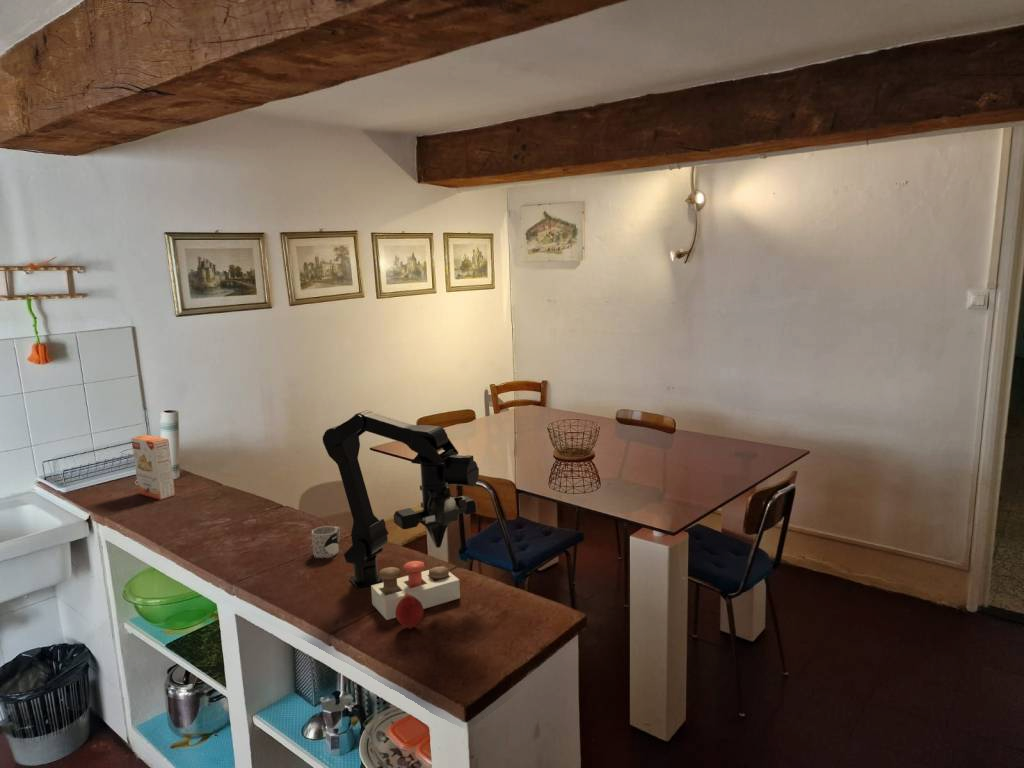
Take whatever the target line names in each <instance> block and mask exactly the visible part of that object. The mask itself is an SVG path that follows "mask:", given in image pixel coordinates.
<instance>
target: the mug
mask: <svg viewBox="0 0 1024 768" xmlns="http://www.w3.org/2000/svg"><path fill="white" fill-rule="evenodd" d="M340 541H341V533H340V527H339V526H332V525H331V526H330V525H329V526H328V525H324V526H320V527H319V526H318V527H316V528H315V529H312V530H311V543H312V553H313V554H312V555H314V556H313V557H314V558H315V557H316V558H315V559H318V558H322V559H321V560H324V559H323V558H326V559H330V557H331V558H333V557H332V556H334V557H336V556H337V555H338V554H339V553H338V552H339V542H340ZM336 554H337V555H336ZM335 555H336V556H335Z"/></svg>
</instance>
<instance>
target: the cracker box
mask: <svg viewBox="0 0 1024 768" xmlns="http://www.w3.org/2000/svg"><path fill="white" fill-rule="evenodd" d="M130 439H131V445H132V453H133V460H134V468H135V474H136V475H135V476H136V481H137V482H136V483H137V488H138V489H137V491H138V494H139V495H142V496H146V497H148V498H153V499H156V500H160V501H162V500H165V499H168V498H171V497H174V496H176V491H175V482H174V475H173V466H172V458H171V451H170V443H169V438H166V437H165V438H164V437H160V436H155V435H150V434H144V435H143V434H142V435H138V436H134V437H131V438H130Z"/></svg>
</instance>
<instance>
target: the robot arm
mask: <svg viewBox="0 0 1024 768" xmlns="http://www.w3.org/2000/svg"><path fill="white" fill-rule="evenodd" d="M366 432H368V433H371V434H375V435H377V436H381V437H384V438H387V439H390V440H393V441H397V442H399V443H402V444H403V445H406V446H407V447H408V448H409V449H410V450H411V451H412V452H414V453H417V454H416V456H415V457H414V458H412V459H411V464H417V465H420V480H421V485H419V490H420V491H421V494H422V495H421V496H422V497H421V498H422V502H420V507H421V508H422V510H417V511H415V510H413V509H412V508H411V507H408V508H403V509H399V510H396V511H395V512H394V514H393V523H394V524H395V525H396V526H397V527H399V528H400V529H402V530H408V529H409V530H410V529H413V528H417V527H418V526H419V524H421V525H423V526H424V527H425V529H426V530H427V532H428V534H429V536H430V538H431V540H432V542H433V544H434V547H435V548H437V549H439V548H441V546H442V543H443V539H444V538H445V533H446V531H447V528H448V526H449V524H451V523H452V522H457V521H459V518H460V517H459V516H460V515H461V514H464V515H466V516H467V515H472V514H475V513H477V512H478V506H477V505H478V504H477V503H476V501H475V500H474V499H472V498H470V497H469V496H467V495H461V496H456V497H455V496H453V497H452V495H451V490H450V487H449V486H448V485H451V486H459V487H460V486H463V487H470V488H471V487H474V486H476V484H477V482H478V480H479V477H480V474H479V473H480V469H479V467H478V463H477V462H476V461H475V460H474V455H469V454H468V455H459V451H458V449H456V447H455V446H454V444H453V442H452V441H451V440H450V438H449V437H448V434H447V432H446V429H445V428H444V427H441V426H438V425H429V424H420V425H419V424H418V425H417V424H411V423H407V422H405V421H401V420H398V419H394V418H391V417H387V416H386V415H385V416H384V415H382V414H378V413H375V412H373V411H371V410H368V409H367V410H364V411H361V412H358V413H355V414H354V415H353V416H351V418H349V419H347V420H346V421H344V422H343V423H341V424H338V425H336V426H333V427H330V428H328V429H326V430H325V431H324V434H323V435H322V443H323V446H324V448H325V450H326V452H327V454H328V457H329V458H331V459H332V461H334V462H335V463H336V465H337V469H338V471H339V475H340V478H341V482H342V485H343V488H344V493H345V495H346V499H347V503H348V506H349V509H350V514H351V517H352V527H351V533H350V537H351V546H350V548H349V549H347V551H346V552H344V554H343V556H344V559H345V561H346V564H347V563H348V564H353V566H352V567H353V576H349V580H350V582H351V583H352V584H353V585H354V586H355V587H356V588H357V589H361V588H366V587H368V586H372V585H375V584H379V583H383V579H381V578H380V577H379V571H378V563H377V562H378V557H377V555H378V554H381V553H382V552H383V549H384V547H385V546H386V545H387V542H388V540H389V539H388V535H389V531H388V529H387V527H386V521H385V519H384V518H381V519H379V518H378V517H377V516H375V514H374V512H373V511H374V510H373V508H372V504H371V502H370V501H371V500H370V498H369V494H368V490H367V487H366V484H365V480H364V476H363V473H362V469H361V466H360V462H359V453H360V452H359V451H360V447H361V443H360V442H361V441H360V436H362V435H363V434H364V433H366ZM441 451H443V452H441ZM439 452H441V453H439Z"/></svg>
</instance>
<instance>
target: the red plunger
mask: <svg viewBox="0 0 1024 768" xmlns="http://www.w3.org/2000/svg"><path fill="white" fill-rule="evenodd" d="M425 568H426V567H425V563H424V561H421V560H412V561H408V562H406V563H405V564H404V565H403V569H404V571H405V572H407V574H408V575H407V576H408V579H409V588H414V587H417V586H421V585H422V575H421V572H423V571H424V569H425Z"/></svg>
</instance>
